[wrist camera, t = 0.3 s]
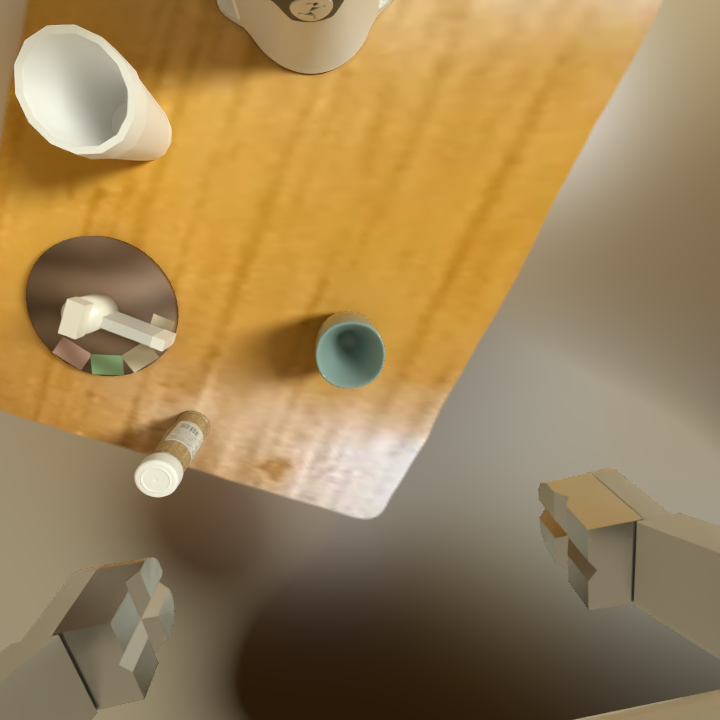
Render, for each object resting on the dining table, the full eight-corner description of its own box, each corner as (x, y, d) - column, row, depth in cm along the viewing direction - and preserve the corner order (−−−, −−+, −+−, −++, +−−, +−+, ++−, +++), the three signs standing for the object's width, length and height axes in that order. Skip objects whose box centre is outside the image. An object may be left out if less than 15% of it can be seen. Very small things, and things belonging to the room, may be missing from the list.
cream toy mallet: (79, 318, 51) (47, 329, 45) (88, 287, 50) (56, 294, 44) (170, 352, 53) (150, 367, 47) (180, 323, 52) (161, 335, 46)
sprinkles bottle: (169, 423, 57) (123, 478, 44) (194, 403, 56) (155, 452, 43) (193, 446, 58) (155, 506, 45) (218, 427, 57) (187, 482, 45)
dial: (13, 244, 49) (4, 244, 48) (160, 228, 50) (156, 228, 49) (58, 380, 54) (51, 384, 53) (191, 364, 55) (188, 367, 53)
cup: (318, 365, 56) (316, 391, 46) (314, 307, 54) (312, 322, 44) (376, 362, 57) (386, 387, 47) (375, 304, 54) (385, 319, 45)
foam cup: (108, 177, 48) (31, 156, 35) (88, 84, 45) (-2, 26, 33) (193, 172, 48) (146, 151, 36) (178, 80, 46) (123, 22, 33)
